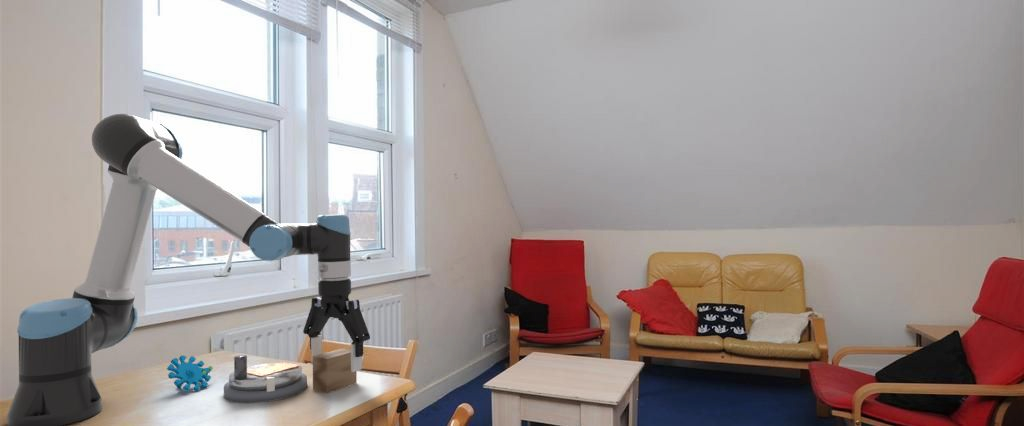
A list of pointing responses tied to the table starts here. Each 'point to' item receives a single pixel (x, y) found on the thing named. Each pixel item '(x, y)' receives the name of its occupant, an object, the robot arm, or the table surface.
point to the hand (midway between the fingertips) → (336, 366)
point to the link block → (333, 371)
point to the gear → (189, 373)
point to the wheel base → (265, 391)
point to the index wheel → (262, 374)
